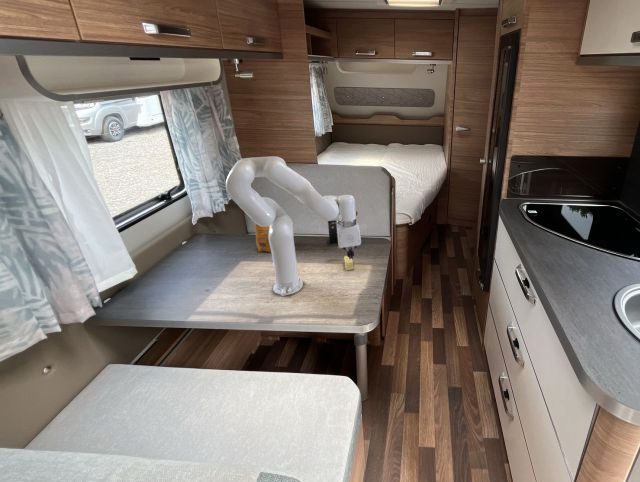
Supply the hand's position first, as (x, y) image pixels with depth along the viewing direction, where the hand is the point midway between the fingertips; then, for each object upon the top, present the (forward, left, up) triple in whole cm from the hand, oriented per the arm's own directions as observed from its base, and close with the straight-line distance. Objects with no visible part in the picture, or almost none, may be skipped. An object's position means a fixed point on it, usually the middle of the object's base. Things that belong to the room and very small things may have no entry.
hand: (350, 257), depth 157 cm
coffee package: (+38, +41, -10) cm, 57 cm away
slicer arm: (+36, -1, +2) cm, 37 cm away
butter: (+9, +1, -10) cm, 14 cm away
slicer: (+36, +7, -10) cm, 38 cm away
